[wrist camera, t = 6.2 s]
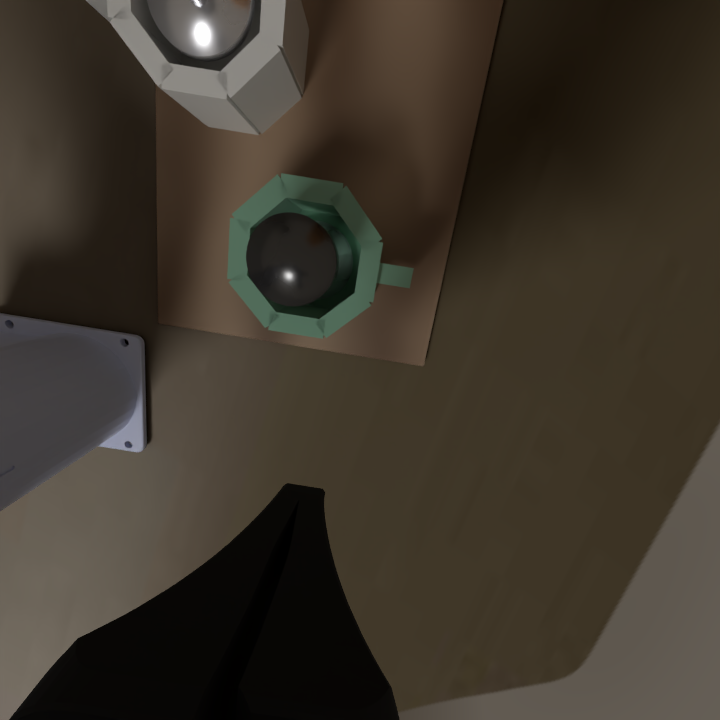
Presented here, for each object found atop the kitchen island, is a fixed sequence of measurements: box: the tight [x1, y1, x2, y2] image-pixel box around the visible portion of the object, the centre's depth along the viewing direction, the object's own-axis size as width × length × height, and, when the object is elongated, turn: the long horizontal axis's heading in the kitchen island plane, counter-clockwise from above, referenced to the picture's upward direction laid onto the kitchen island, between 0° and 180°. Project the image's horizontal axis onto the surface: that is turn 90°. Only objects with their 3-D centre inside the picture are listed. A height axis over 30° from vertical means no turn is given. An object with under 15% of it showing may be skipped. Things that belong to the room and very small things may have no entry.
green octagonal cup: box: [227, 173, 414, 339], centre depth 17 cm, size 8×7×4 cm
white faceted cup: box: [86, 0, 309, 135], centre depth 15 cm, size 8×7×4 cm
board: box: [156, 0, 503, 366], centre depth 18 cm, size 16×19×1 cm
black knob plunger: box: [246, 212, 353, 306], centre depth 16 cm, size 4×4×6 cm
